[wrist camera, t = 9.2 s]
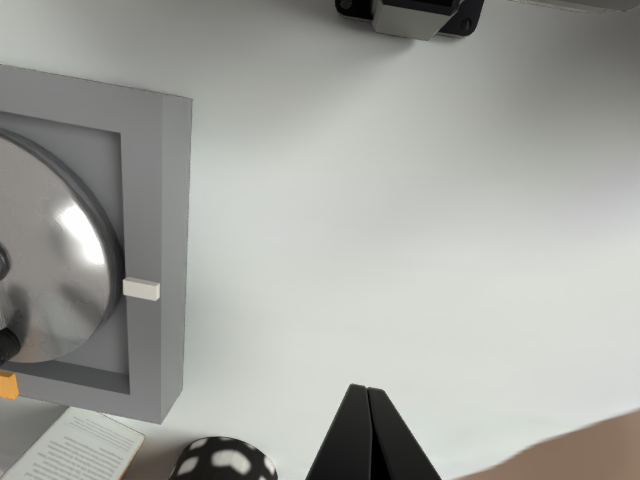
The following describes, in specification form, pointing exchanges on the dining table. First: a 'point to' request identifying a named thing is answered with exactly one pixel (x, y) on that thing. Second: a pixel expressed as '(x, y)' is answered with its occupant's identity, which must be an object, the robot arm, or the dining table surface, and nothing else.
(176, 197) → the grey square tray
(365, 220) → the dining table surface
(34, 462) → the small box
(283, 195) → the dining table surface
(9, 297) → the dial
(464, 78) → the dining table surface
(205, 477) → the spotted tube
